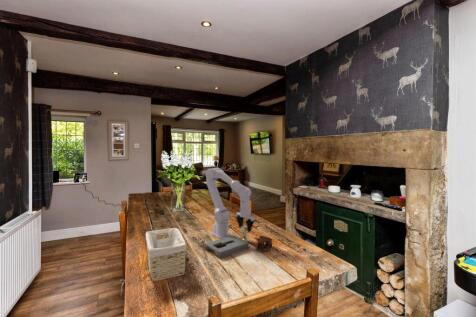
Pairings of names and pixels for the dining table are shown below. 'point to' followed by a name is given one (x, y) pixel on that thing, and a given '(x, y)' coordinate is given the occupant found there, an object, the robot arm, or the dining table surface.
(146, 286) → the dining table surface
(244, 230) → the brass peg
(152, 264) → the storage basket
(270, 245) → the dark wooden box
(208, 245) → the keyhole plate
